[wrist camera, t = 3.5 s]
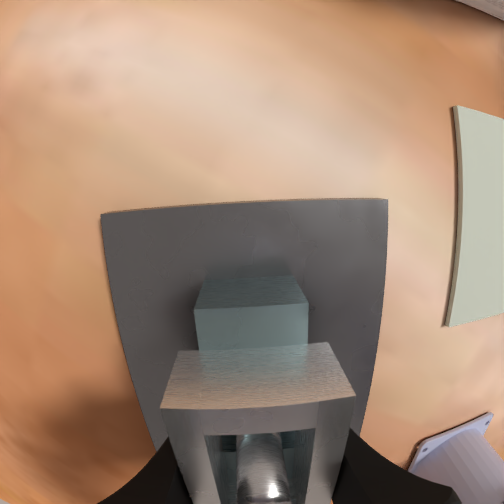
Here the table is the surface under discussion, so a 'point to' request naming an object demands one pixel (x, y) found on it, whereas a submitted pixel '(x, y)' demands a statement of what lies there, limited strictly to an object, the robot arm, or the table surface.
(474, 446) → the robot arm
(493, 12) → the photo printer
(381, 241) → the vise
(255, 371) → the gray rectangular frame
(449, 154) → the table surface
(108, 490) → the table surface
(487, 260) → the sage mat
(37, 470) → the table surface
